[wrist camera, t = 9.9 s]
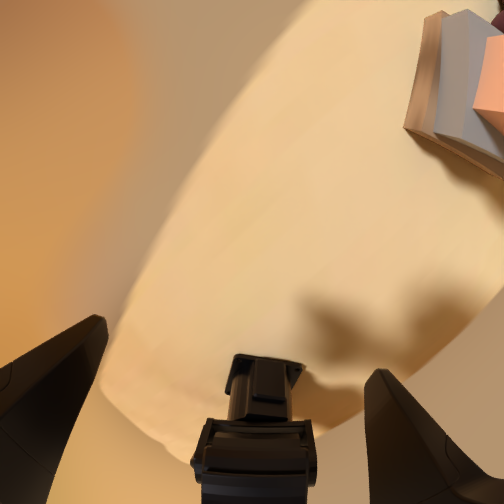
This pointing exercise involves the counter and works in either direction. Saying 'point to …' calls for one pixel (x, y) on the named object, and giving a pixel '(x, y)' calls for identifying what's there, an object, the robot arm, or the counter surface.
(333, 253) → the counter surface
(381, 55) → the counter surface
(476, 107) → the block
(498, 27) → the maroon plush toy
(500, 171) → the tower bottom
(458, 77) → the tower top
